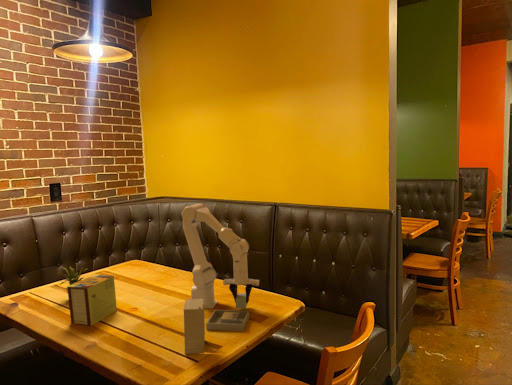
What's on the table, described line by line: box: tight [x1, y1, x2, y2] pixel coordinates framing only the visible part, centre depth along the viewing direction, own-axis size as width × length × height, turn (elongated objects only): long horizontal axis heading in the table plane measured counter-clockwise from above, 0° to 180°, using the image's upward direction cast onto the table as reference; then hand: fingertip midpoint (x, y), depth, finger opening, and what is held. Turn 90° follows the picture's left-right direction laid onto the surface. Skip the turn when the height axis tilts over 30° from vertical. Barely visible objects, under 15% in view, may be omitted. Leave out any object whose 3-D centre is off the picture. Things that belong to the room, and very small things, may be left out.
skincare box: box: [183, 298, 206, 355], centre depth 126 cm, size 8×7×16 cm
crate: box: [205, 309, 251, 332], centre depth 143 cm, size 14×12×3 cm
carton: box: [234, 292, 249, 310], centre depth 154 cm, size 4×6×4 cm, turn 172°
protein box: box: [66, 273, 118, 327], centre depth 155 cm, size 10×15×16 cm
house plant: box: [59, 266, 89, 293], centre depth 175 cm, size 14×14×16 cm
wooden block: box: [221, 312, 240, 324], centre depth 142 cm, size 6×6×4 cm
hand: (241, 301), depth 154 cm, fingers closed on carton, 4 cm apart
